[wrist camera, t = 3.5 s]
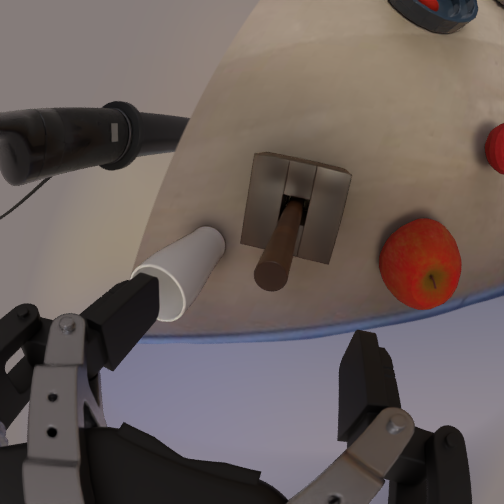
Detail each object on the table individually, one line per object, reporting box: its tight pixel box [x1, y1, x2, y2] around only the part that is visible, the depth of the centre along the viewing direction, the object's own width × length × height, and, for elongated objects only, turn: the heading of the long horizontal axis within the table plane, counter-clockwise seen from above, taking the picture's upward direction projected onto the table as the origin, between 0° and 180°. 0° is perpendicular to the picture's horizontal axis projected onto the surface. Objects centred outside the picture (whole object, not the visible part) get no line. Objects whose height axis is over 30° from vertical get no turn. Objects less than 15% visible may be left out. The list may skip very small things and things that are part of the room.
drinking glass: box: [130, 226, 225, 322], centre depth 33 cm, size 7×7×15 cm
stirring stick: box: [254, 196, 305, 291], centre depth 24 cm, size 2×2×22 cm
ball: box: [418, 0, 439, 12], centre depth 17 cm, size 3×3×3 cm
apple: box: [379, 218, 461, 310], centre depth 28 cm, size 11×11×11 cm
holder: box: [240, 152, 352, 264], centre depth 31 cm, size 10×10×7 cm
